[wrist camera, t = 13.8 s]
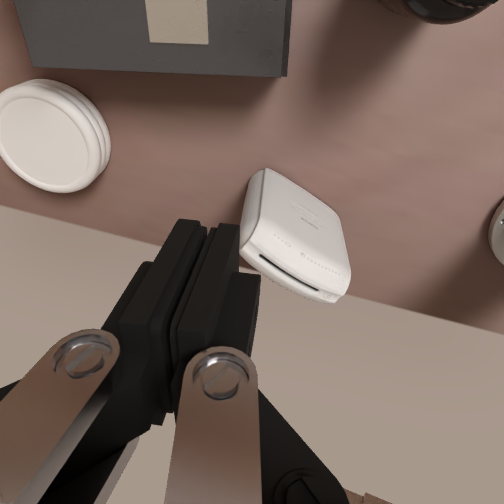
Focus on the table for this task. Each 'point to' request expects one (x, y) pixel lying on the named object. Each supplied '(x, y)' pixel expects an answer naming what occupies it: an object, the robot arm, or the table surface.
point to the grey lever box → (159, 35)
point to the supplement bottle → (438, 9)
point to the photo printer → (293, 238)
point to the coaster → (52, 135)
